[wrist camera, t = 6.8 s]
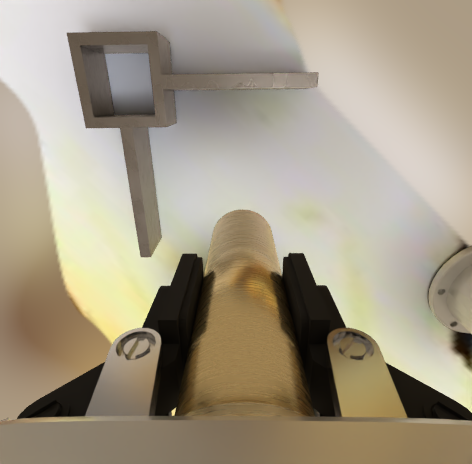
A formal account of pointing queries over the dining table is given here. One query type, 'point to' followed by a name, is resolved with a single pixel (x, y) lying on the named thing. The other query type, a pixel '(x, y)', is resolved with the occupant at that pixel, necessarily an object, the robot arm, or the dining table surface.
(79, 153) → the dining table surface
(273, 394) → the hinge pin
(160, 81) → the hinge
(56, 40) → the dining table surface
